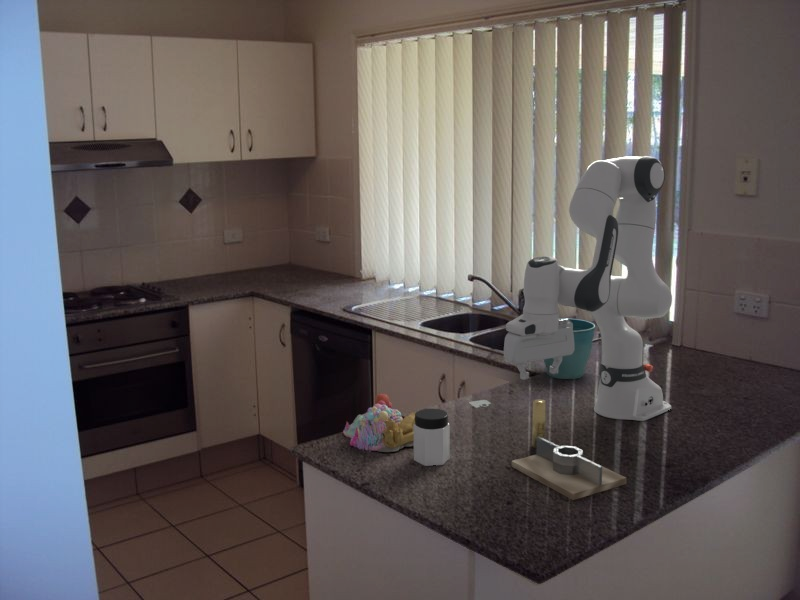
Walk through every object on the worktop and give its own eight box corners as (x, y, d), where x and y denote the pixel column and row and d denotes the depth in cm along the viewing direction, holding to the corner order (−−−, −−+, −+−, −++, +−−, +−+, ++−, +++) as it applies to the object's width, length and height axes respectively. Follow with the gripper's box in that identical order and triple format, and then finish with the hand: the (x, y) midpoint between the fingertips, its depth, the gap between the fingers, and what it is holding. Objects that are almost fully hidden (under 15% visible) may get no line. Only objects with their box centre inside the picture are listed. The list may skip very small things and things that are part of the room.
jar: (423, 451, 218) (423, 406, 216) (453, 455, 215) (453, 410, 213) (409, 463, 210) (408, 417, 208) (440, 468, 207) (439, 421, 205)
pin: (539, 442, 223) (540, 398, 220) (547, 446, 220) (548, 402, 217) (529, 445, 221) (530, 400, 219) (537, 449, 218) (538, 404, 216)
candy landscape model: (449, 435, 230) (449, 402, 228) (390, 462, 213) (389, 426, 211) (381, 415, 246) (380, 384, 244) (321, 438, 229) (320, 405, 227)
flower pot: (561, 363, 293) (562, 315, 290) (605, 375, 280) (606, 324, 276) (526, 374, 282) (526, 324, 278) (569, 386, 268) (570, 333, 265)
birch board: (562, 453, 215) (562, 447, 215) (626, 484, 197) (626, 477, 197) (511, 466, 208) (511, 460, 207) (572, 500, 189) (573, 493, 189)
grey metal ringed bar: (548, 451, 213) (548, 434, 212) (611, 482, 194) (612, 463, 193) (527, 456, 210) (527, 439, 209) (589, 488, 191) (589, 470, 190)
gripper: (564, 315, 221) (562, 367, 224) (500, 324, 211) (499, 379, 214) (581, 320, 216) (579, 373, 219) (516, 329, 206) (515, 385, 209)
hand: (539, 376), depth 216 cm, fingers open, 8 cm apart
